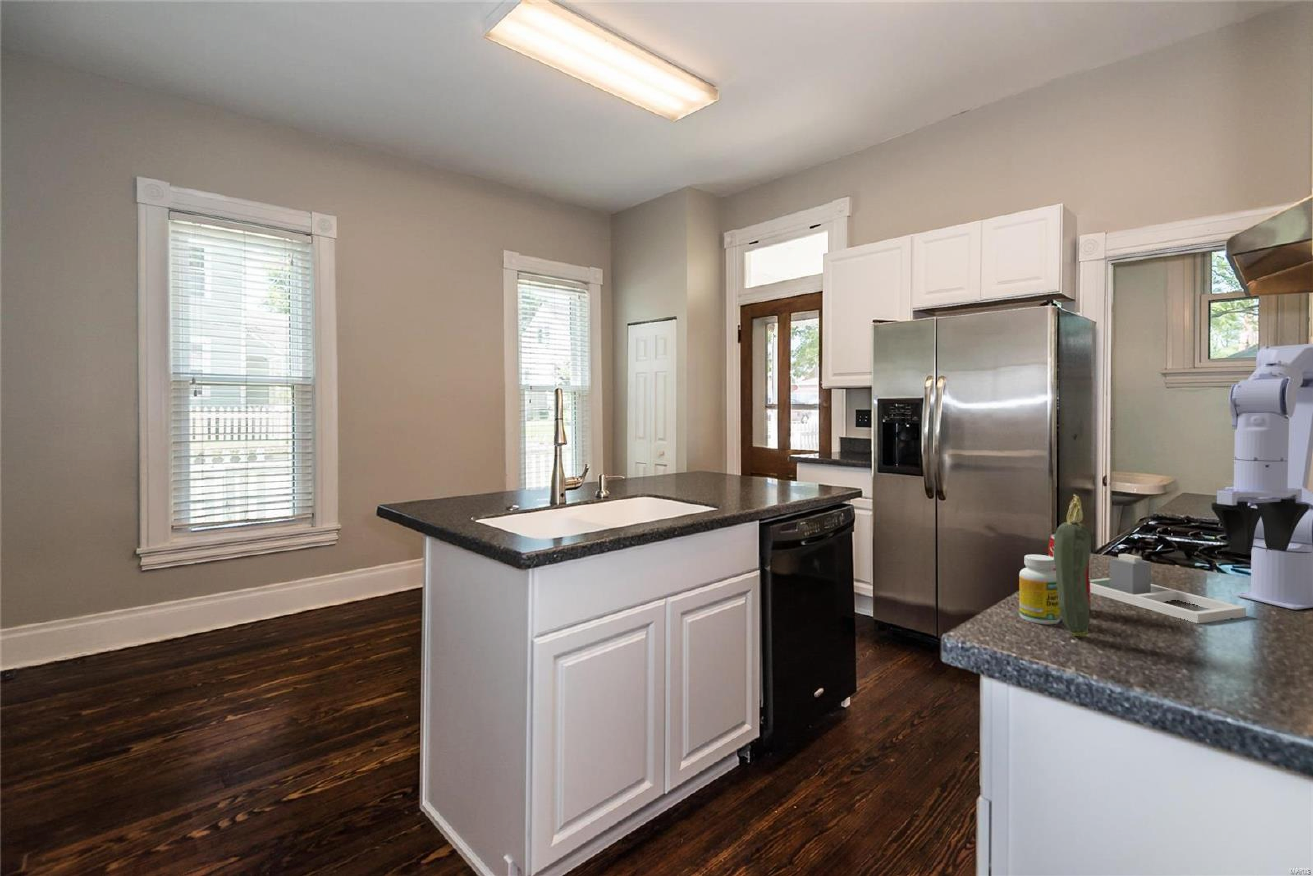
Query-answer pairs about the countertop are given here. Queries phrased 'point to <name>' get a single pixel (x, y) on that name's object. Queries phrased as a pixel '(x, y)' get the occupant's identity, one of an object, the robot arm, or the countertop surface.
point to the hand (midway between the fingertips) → (1258, 551)
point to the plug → (1130, 574)
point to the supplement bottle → (1039, 590)
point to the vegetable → (1073, 569)
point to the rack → (1166, 594)
